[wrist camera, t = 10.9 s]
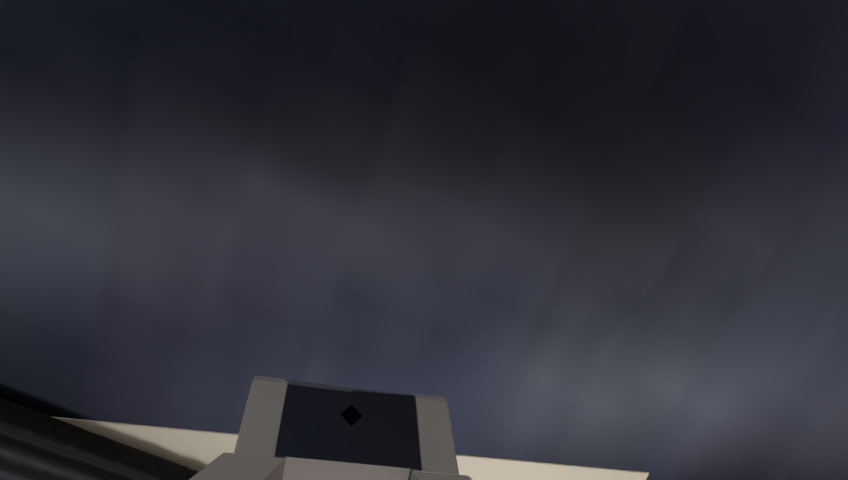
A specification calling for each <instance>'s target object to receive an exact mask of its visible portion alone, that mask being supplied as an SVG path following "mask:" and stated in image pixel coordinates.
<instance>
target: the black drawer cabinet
mask: <svg viewBox="0 0 848 480" xmlns="http://www.w3.org/2000/svg"><path fill="white" fill-rule="evenodd" d="M198 472H199V471H196V470H192V469H190V468H188V467H186V466H181V465H179V464H177V463H175V462H172V461H169V460H166V459H164V458H161V457H158V456H155V455H153V454H150V453H147V452H144V451H142V450H139V449H136V448H133V447H130V446H128V445H125V444H122V443H119V442H116V441H114V440H112V439H109V438H107V437H104V436H101V435H98V434H95V433H92V432H90V431H87V430H85V429H82V428H80V427H77V426H75V425H72V424H69V423H67V422H64V421H61V420H59V419H56V418H53V417H51V416H48V415H45V414H42V413H39V412H36V411H34V410H31V409H28V408H26V407H23V406H21V405H18V404H15V403H13V402H10V401H7V400H4V399H1V398H0V480H189V479H191V478H192V477H193V476H194V475H196V474H197V473H198Z"/></svg>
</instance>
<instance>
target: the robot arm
mask: <svg viewBox="0 0 848 480" xmlns="http://www.w3.org/2000/svg"><path fill="white" fill-rule="evenodd" d="M287 385H288V388H287ZM189 480H472V479H471V478H470V477H469V476H467V475H459V470H458V464H457V458H456V452H455V446H454V440H453V434H452V428H451V422H450V416H449V410H448V404H447V401H446V399H445V398H444V397H441V396H429V395H418V394H413V395H410V394H401V393H391V392H382V391H373V390H364V389H354V388H348V387H341V386H334V385H326V384H319V383H312V382H304V381H297V380H290V379H289V382H288V380H287V379H279V378H271V377H264V376H255V377H254V379H253V381H252V384H251V388H250V392H249V396H248V400H247V404H246V407H245V411H244V415H243V419H242V423H241V427H240V431H239V435H238V439H237V443H236V446H235V450H234V453H222V454H221V455H220V456H218V457H217V458H216V459H215V460H213V461H212V462H211V463H209V464H208V465H207V466H206V467H204V468H203V469H202V470H201V471H199V472H198V473H197V474H196V475H194V476H193V477H192V478H191V479H189Z"/></svg>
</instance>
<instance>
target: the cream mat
mask: <svg viewBox="0 0 848 480" xmlns="http://www.w3.org/2000/svg"><path fill="white" fill-rule="evenodd" d="M53 418H56V419H59V420H61V421H64V422H67V423H69V424H72V425H75V426H77V427H80V428H82V429H85V430H87V431H90V432H92V433H95V434H98V435H101V436H104V437H107V438H109V439H112V440H114V441H116V442H119V443H122V444H125V445H128V446H130V447H133V448H136V449H139V450H142V451H144V452H147V453H150V454H153V455H155V456H158V457H161V458H164V459H166V460H169V461H172V462H175V463H177V464H179V465H181V466H186V467H188V468H190V469H192V470H196V471H201V470H202V469H203V468H204V467H206V466H207V465H208V464H209V463H211V462H212V461H213V460H215V459H216V458H217V457H218V456H220V455H221V454H222V453H234V450H235V446H236V443H237V439H238V435H239V434H233V433H223V432H212V431H201V430H190V429H180V428H169V427H158V426H148V425H137V424H126V423H115V422H105V421H94V420H83V419H73V418H62V417H53ZM456 458H457V464H458V470H459V475H467V476H469V477H470V478H471V479H472V480H646V479H647V476H648V474H649V473H648V472H640V471H630V470H619V469H608V468H597V467H587V466H576V465H565V464H555V463H544V462H533V461H522V460H512V459H501V458H490V457H480V456H469V455H458V454H456Z"/></svg>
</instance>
